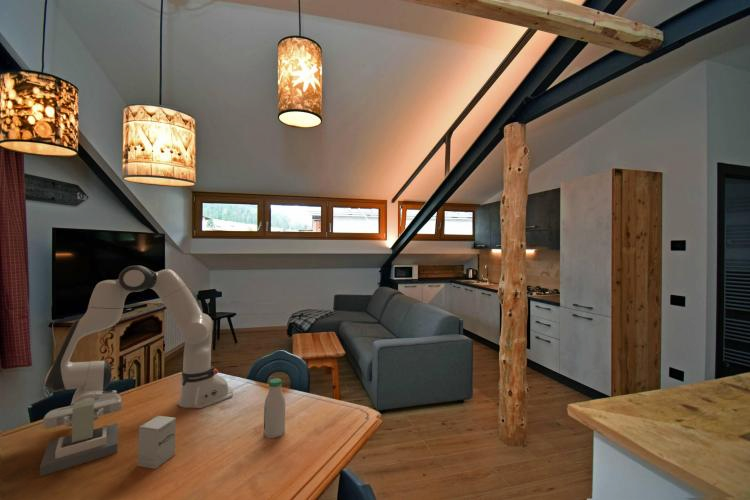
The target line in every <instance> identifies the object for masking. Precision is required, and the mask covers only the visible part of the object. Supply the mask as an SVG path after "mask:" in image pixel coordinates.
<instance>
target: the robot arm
mask: <svg viewBox="0 0 750 500" xmlns="http://www.w3.org/2000/svg"><path fill="white" fill-rule="evenodd" d="M148 289H150V290H153V291H154V292H155V293H156V294H157V296H158V298H159V299H160V300H161V302H162V303H163V305H164V306H165V307H166V309H167V310H168V312H169V313H170V315H171V317H172V319H173V321H174V323H175V325H176V327H177V329H178V331H179V333H180V334H181V337H182V339H183V341H184V348H183V361H182V362H183V363H182V367H183V368H182V371H181V379H180V380H181V391H180V397H179V399H178V403H177V405H178V406H179V407H180V408H189V409H190V408H194V409H201V408H202V409H203V408H205V407H208V406H211V405H213V404H217V403H219V402H221V401H225V400H227V399H231V398H233V396H234V390H233V388H232V387H230V386H229V385H228V382H227V380H226V379H225V378H224V377H222V376H220V375H218V373H219V370H218V369H217V368H215V367H214V366H213V365H212V364H211V363H212V341H213V340H212V338H213V320H212V317H211V316H209V314H206V313H203V312H202V310H201V308H200V305H199V304H198V302H197V299H196V298H195V296H194V295H193V293H192V292H191V291H190V289H189V287H188V285H186V283H185V282H184V280H183V279H182V278H181V277H180V276H179V275H178V274H177V272H175V271H174V270H172V269H170V268H165V269H160V270H159V271H153V270H152V269H149V268H147V267H145V266H143V265H137V264H136V265H129V266H127V267H125V268H124V269H123V270H121V271H120V273H119V275H118V278H117V279H106V280H102V281H100V282H98V283H97V284H96V285H95V287H94V288H93V291H92V293H91V296H90V298H89V303H88V306H87V310H86V312H85V313H84V315H83V316H82V317H81V318H79V319H76V320H75V321H73V323H72V324H71V326H70V328H69V330H68V332H67V335H66V337H65V338H64V340H63V343H62V345H61V346H60V347H61V348H60V349H59V351H58V352H57V353H58V354H57V356H56V358H55V360H54V363H53V364H52V366H51V367H50V369H49V370H48V372H47V374H46V376H45V378H44V387H45V388H47V389H48V390H49V391H51V392H54V393H55V392H61V391H67V390H75V389H76V390H75V392H74V394H73V396H72V400H71V403H70V405H68V406H63V407H59V408H55V409H52V410H50V411H48V412H47V413H46V414H45V415H44V417H43V418H42V419H43V420H42V428H43V429H46V430H47V429H51V428H56V427H60V426H63V425H64V426H66V427H67V428H68V427H72V411H73V406H74V402H78V401H83V400H87V399H92V398H94V414H93V420H94V421H96V420H99V419H100V418H101V417H102V416H104V415H105V416H106V415H108V414H113V413H116V412H119V411H121V410H122V408H123V407H122V405H123V404H122V402H123V401H122V398H121V395H120V394H118V391H117V390H115V389H114V390H106V389H107V387H109V386H110V383H111V378H112V365H111V364H110V363H109V362H108V361H107V360H91V361H78V362H76V361H75V362H74V361H73V362H72V361H70V360H71V357H72V356H73V353H74V352H75V348H76V347H77V344H78V342H79V341H80V340H81V339H82V338H84V337H86V336H89V335H91V334H95V333H97V332H101V331H104V330H105V331H106V330H107V329H110V328H112V327H113V326H115V325H116V324H118V323H119V321H120V320H121V318H122V315H123V312H124V307H125V302H126V299H127V297H128V295H129V294H131V293H137V292H143V291H145V290H148ZM211 365H212V366H211Z"/></svg>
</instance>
